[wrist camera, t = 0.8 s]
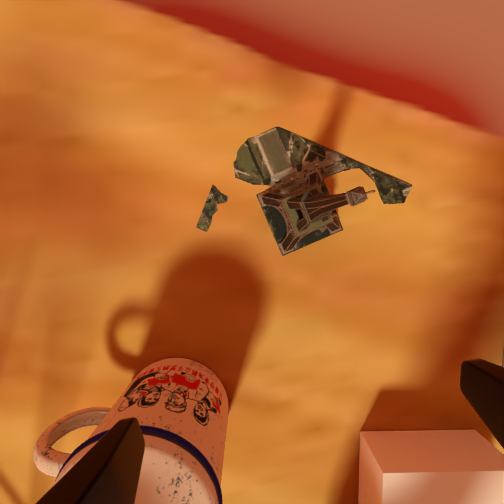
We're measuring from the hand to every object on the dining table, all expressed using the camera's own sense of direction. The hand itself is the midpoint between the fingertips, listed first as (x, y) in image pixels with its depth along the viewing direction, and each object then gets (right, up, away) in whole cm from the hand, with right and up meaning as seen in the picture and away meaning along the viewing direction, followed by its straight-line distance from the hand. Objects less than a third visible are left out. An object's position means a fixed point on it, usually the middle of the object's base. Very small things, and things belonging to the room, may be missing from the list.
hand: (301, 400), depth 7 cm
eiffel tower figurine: (+3, +8, +15) cm, 17 cm away
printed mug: (-9, -9, +16) cm, 20 cm away
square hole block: (+13, -16, +16) cm, 27 cm away
